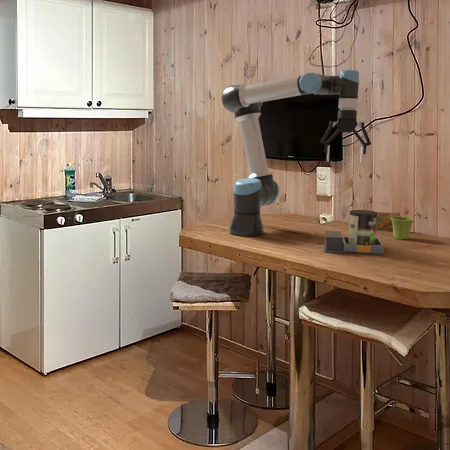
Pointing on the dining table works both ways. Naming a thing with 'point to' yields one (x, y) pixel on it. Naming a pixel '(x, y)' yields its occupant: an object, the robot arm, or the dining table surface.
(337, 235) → the grey tray
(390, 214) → the tin
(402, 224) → the plant pot
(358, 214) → the coffee can
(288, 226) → the dining table surface
